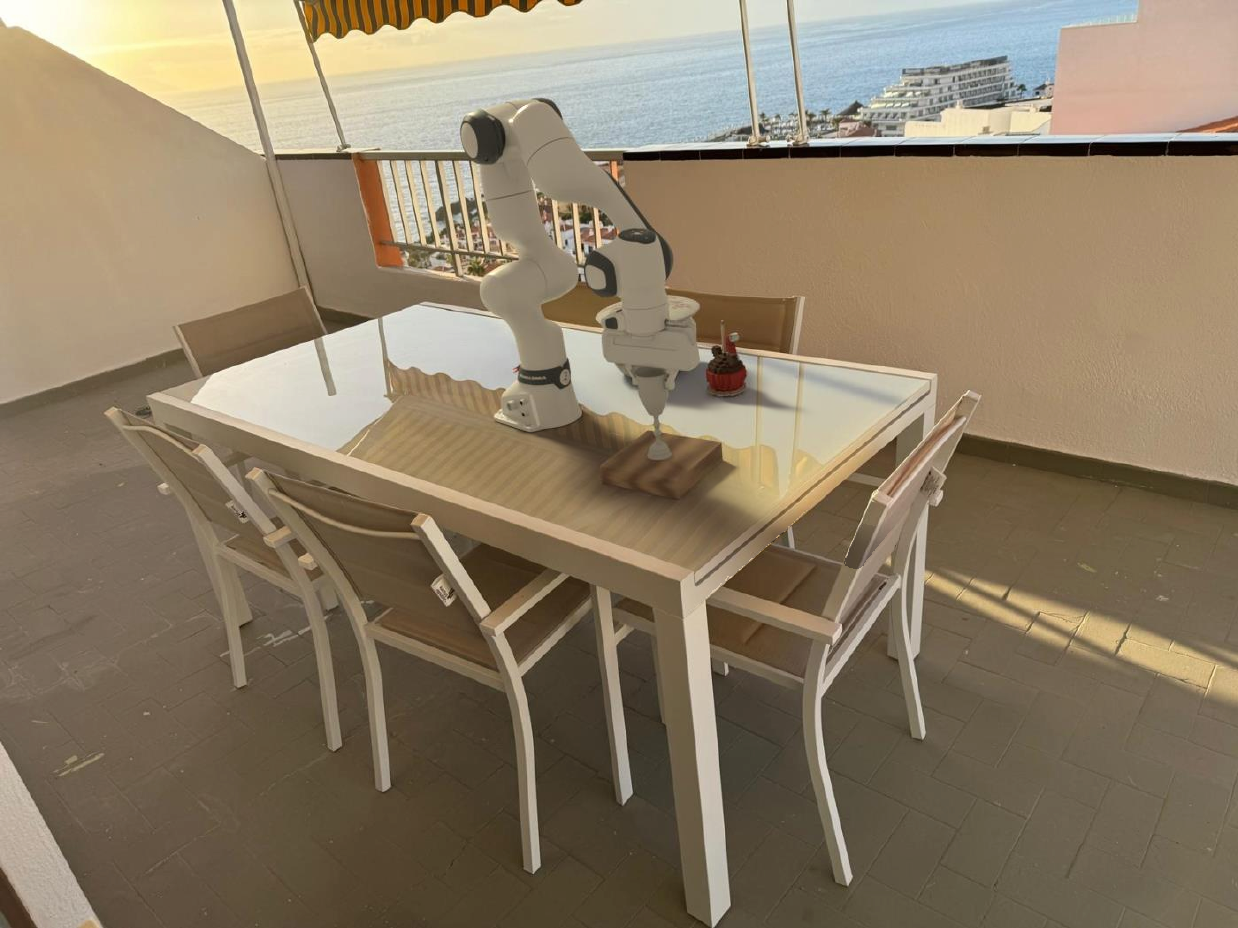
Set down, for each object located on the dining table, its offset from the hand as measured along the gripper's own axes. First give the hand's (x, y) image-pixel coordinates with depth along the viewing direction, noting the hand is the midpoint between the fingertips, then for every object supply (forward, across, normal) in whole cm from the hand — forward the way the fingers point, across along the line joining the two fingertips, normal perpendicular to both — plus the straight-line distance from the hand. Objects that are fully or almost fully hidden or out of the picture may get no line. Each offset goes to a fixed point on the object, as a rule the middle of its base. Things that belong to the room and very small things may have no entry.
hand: (653, 386), depth 165 cm
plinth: (+19, 0, 0) cm, 19 cm away
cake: (+19, +8, -43) cm, 48 cm away
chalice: (+15, 0, 0) cm, 15 cm away
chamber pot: (+19, +34, -50) cm, 63 cm away
